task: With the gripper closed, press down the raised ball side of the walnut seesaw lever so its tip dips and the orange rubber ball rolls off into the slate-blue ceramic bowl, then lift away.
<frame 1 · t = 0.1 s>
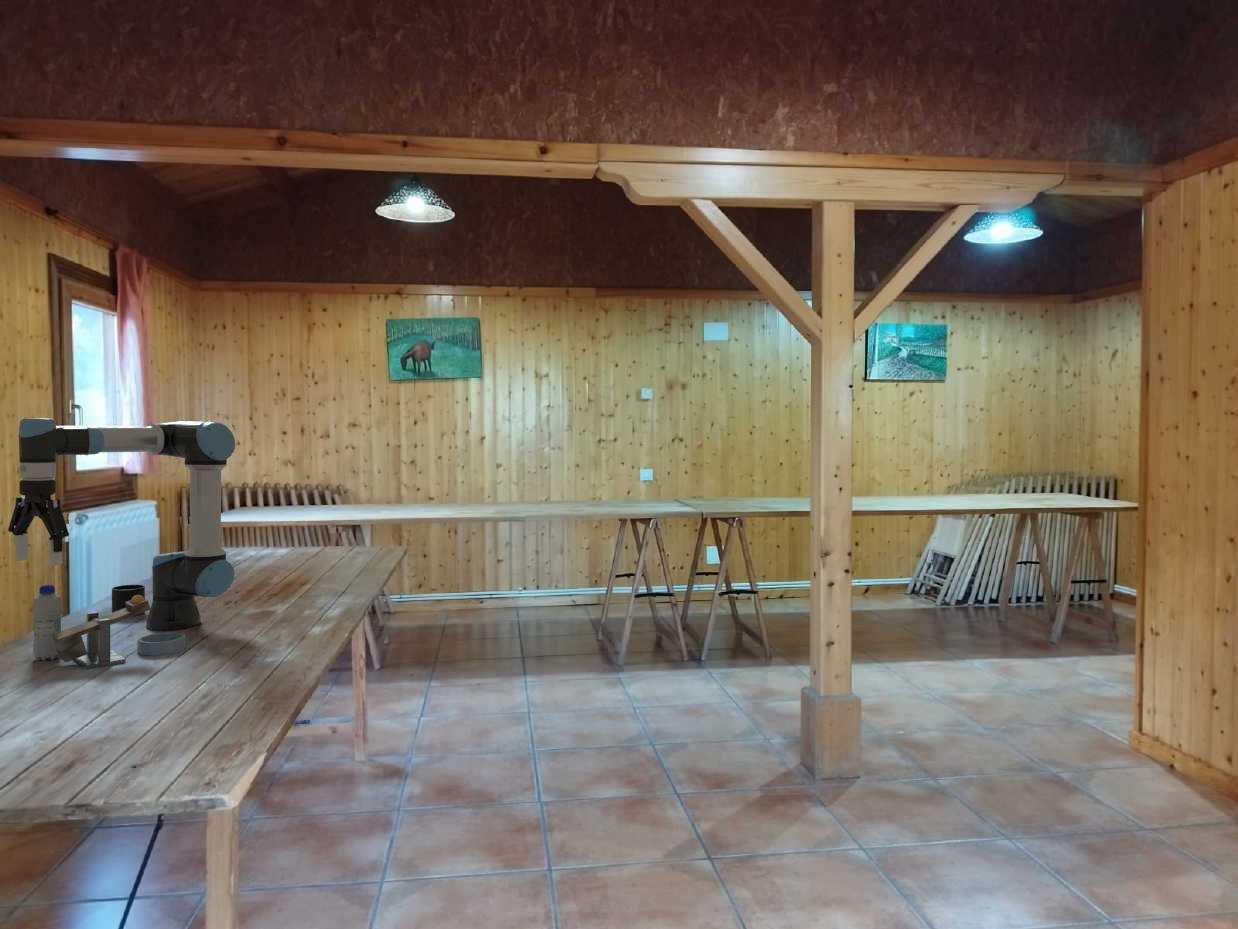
hand: (38, 562, 206), 28 cm above the table, fingers open, 13 cm apart
bottle: (47, 659, 218), on the table
mug: (129, 613, 271), on the table
bowl: (161, 649, 229), on the table
lever: (104, 628, 218), point 8 cm above the table, hinge at -15.0°, touching ball
ball: (137, 600, 224), point 15 cm above the table, tilted 21°, touching lever
fulcrum: (98, 660, 217), on the table
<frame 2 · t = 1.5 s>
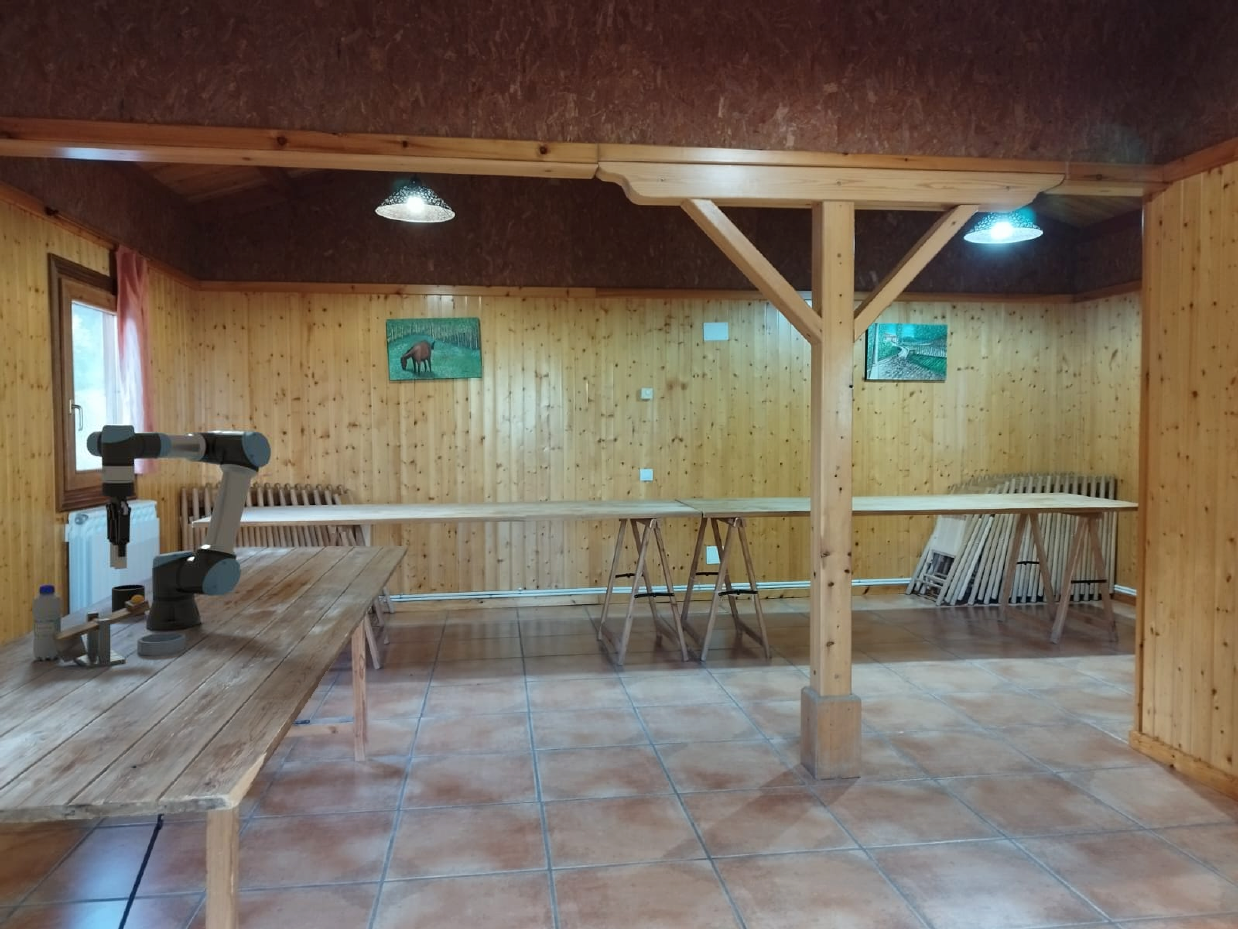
hand: (118, 567, 220), 25 cm above the table, fingers open, 3 cm apart
nothing on the table moved.
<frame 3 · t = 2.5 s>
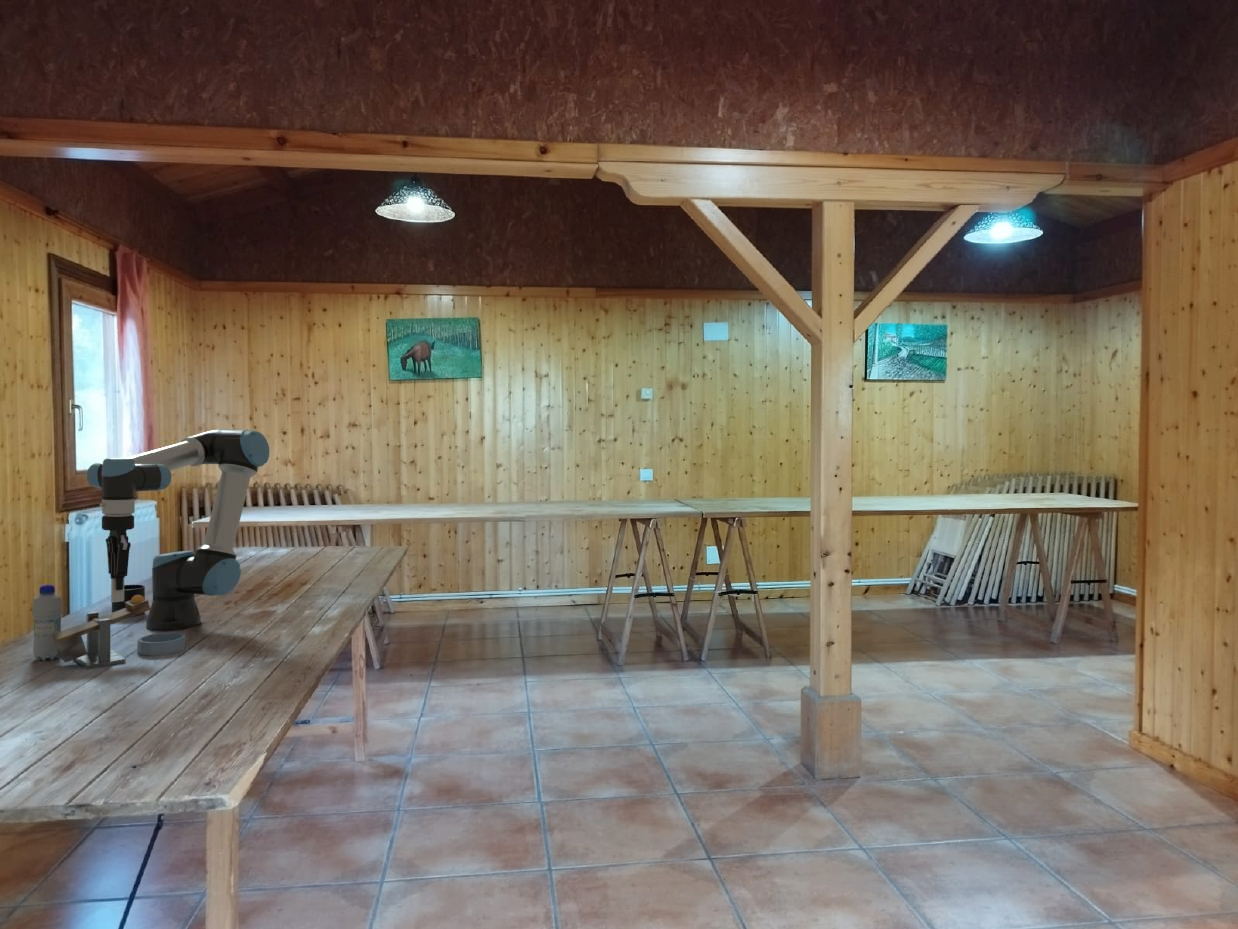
hand: (117, 601, 220), 15 cm above the table, fingers closed
nothing on the table moved.
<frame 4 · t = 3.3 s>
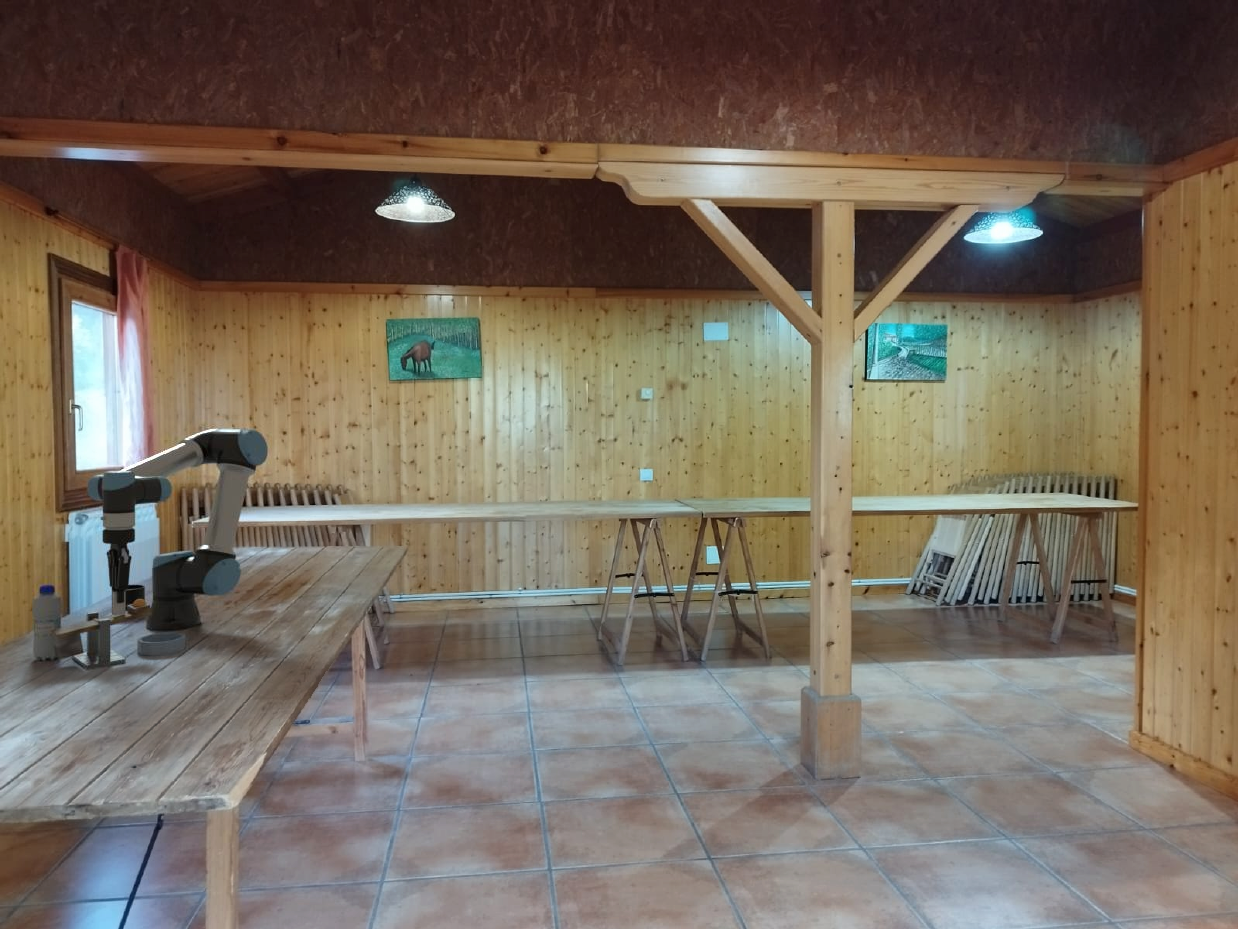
hand: (118, 614, 220), 12 cm above the table, fingers closed
lever: (103, 629, 218), point 8 cm above the table, hinge at -7.9°, touching ball, gripper
ball: (139, 604, 224), point 14 cm above the table, tilted 14°, touching lever
everything else where it was.
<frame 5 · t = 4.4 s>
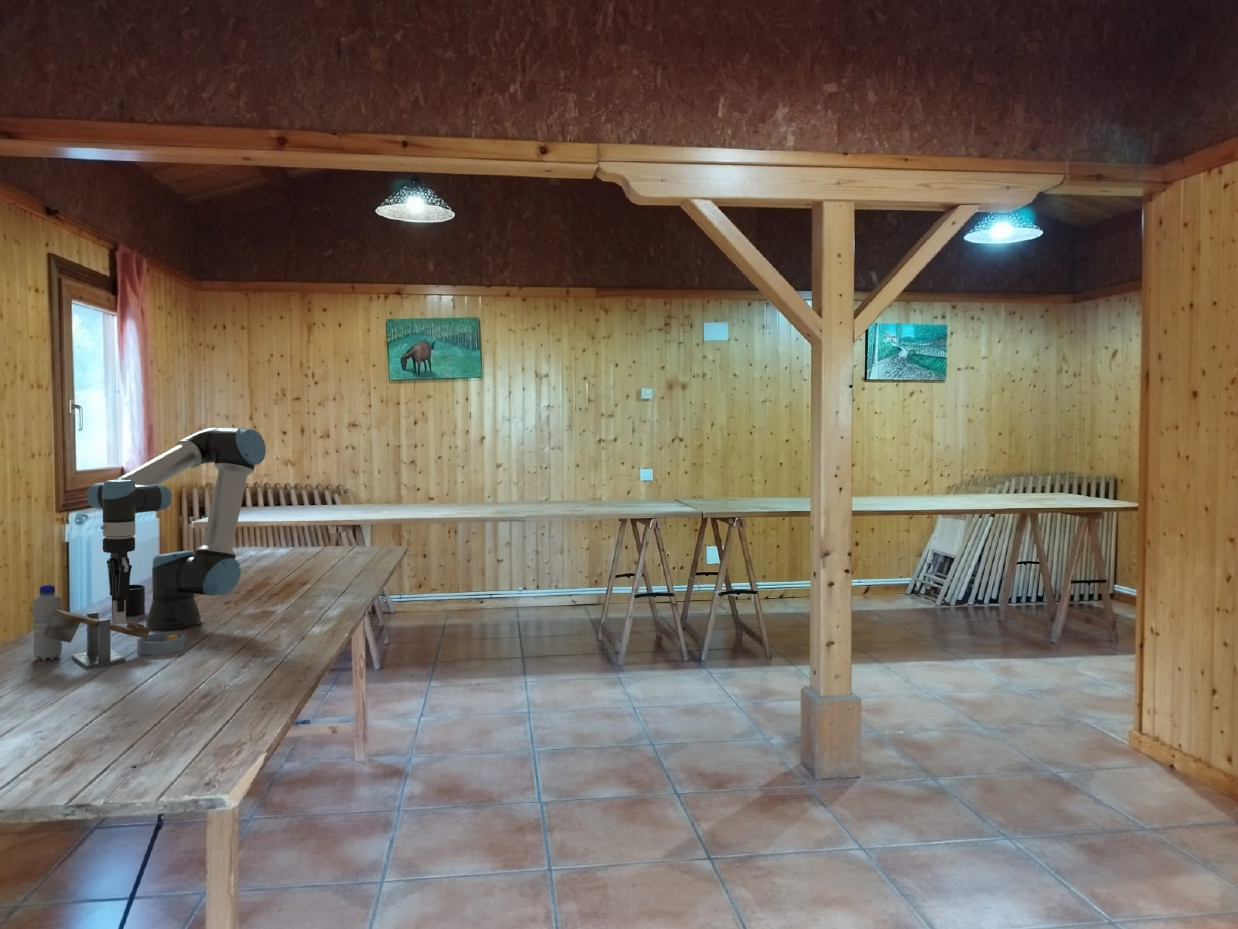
hand: (119, 623, 221), 9 cm above the table, fingers closed
lever: (98, 631, 217), point 8 cm above the table, hinge at 24.3°, touching gripper
ball: (172, 640, 231), point 2 cm above the table, tilted 27°, touching bowl
everything else where it was.
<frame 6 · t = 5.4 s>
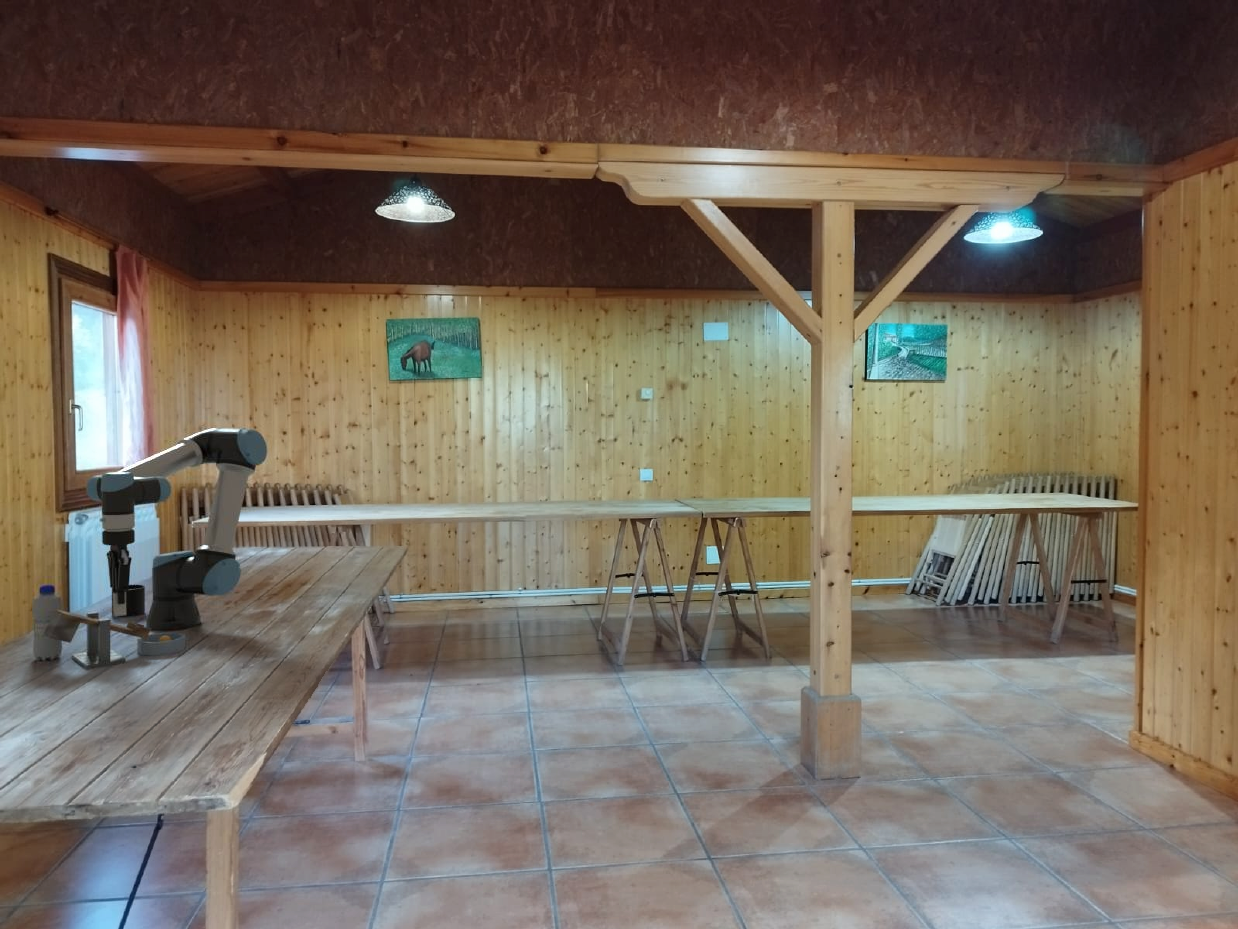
hand: (119, 615, 221), 11 cm above the table, fingers closed
lever: (98, 631, 217), point 8 cm above the table, hinge at 24.3°
ball: (164, 641, 229), point 2 cm above the table, tilted 99°, touching bowl
everything else where it was.
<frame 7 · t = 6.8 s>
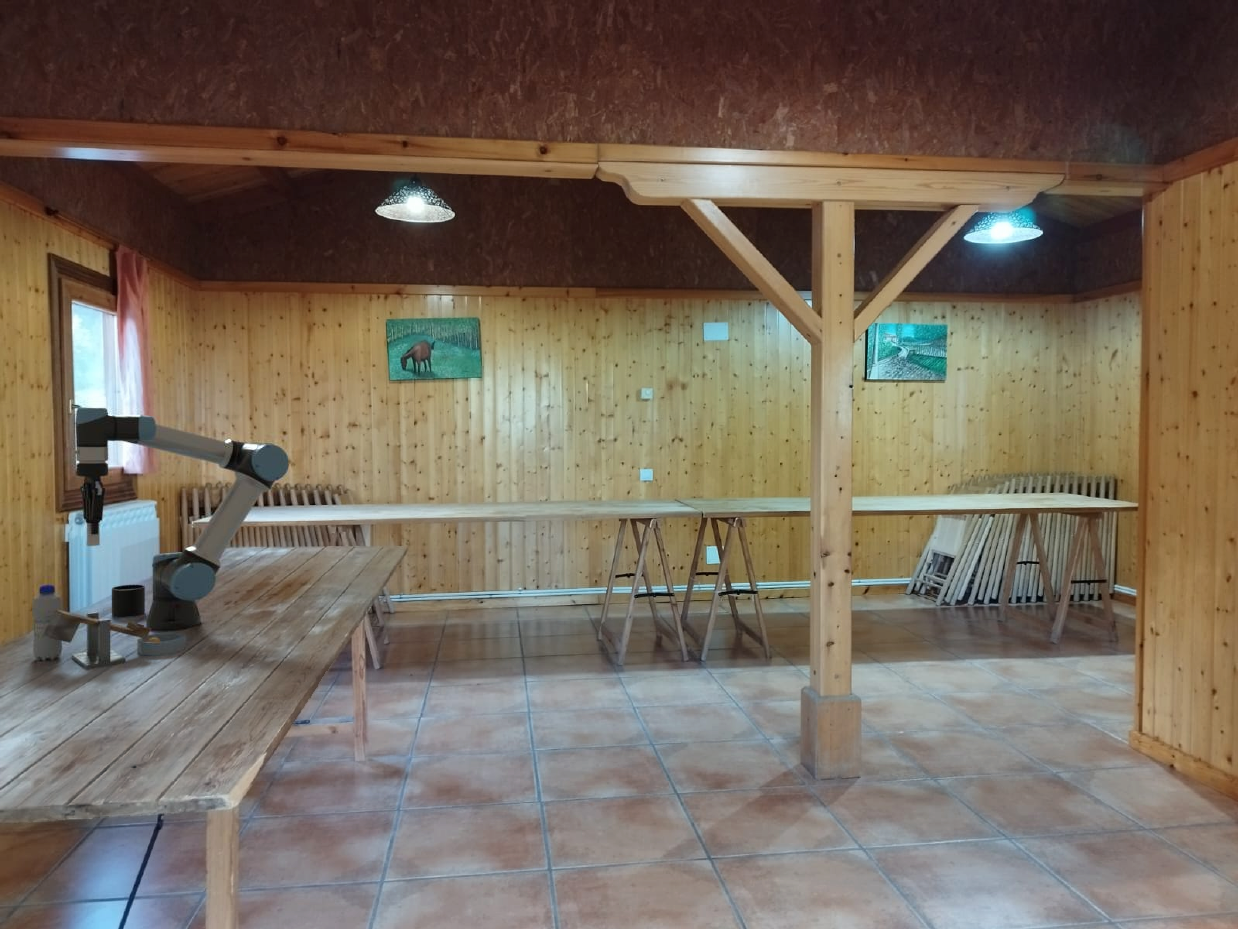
hand: (93, 545, 229), 29 cm above the table, fingers closed
ball: (154, 643, 227), point 2 cm above the table, tilted 160°, touching bowl
everything else where it was.
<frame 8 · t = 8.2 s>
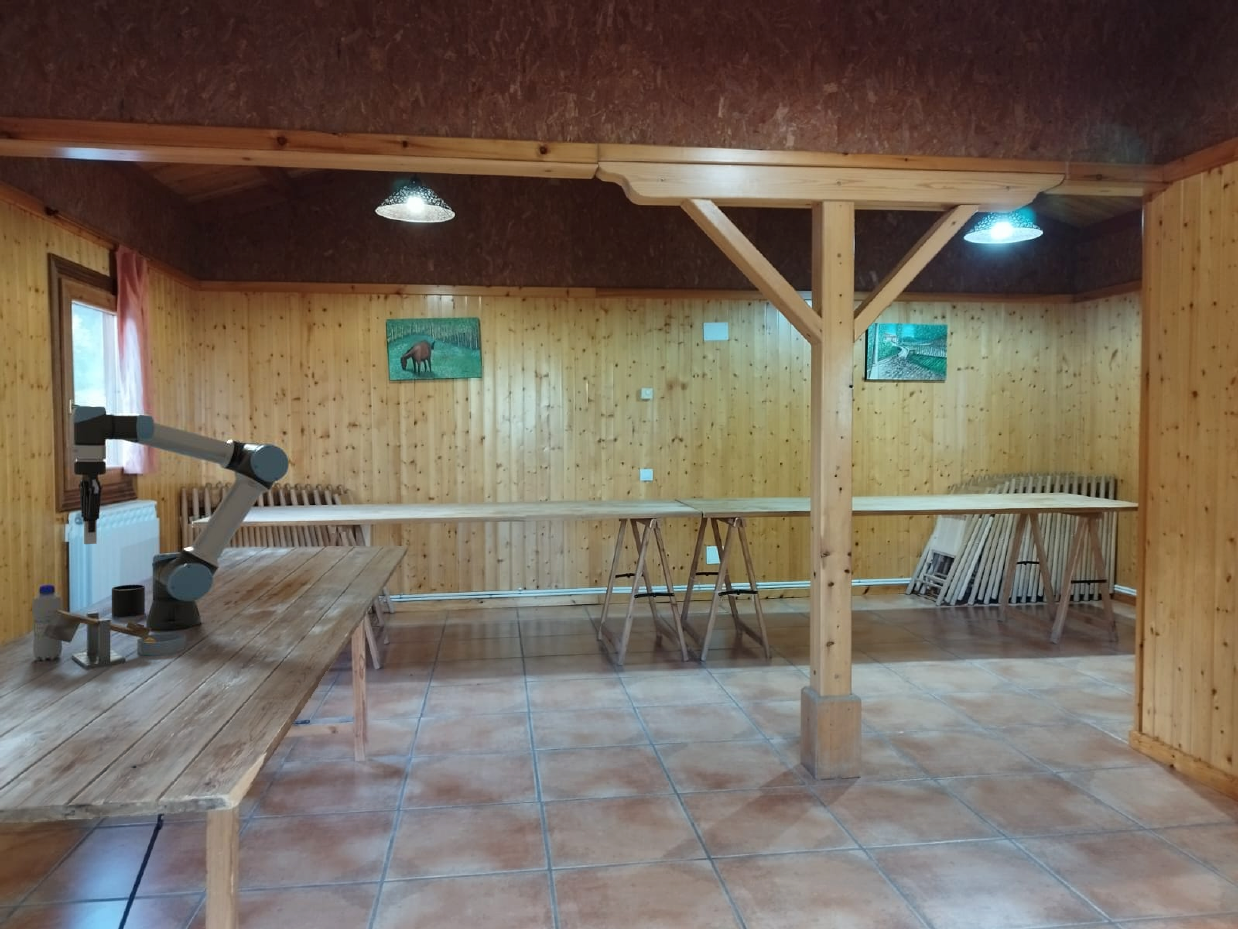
hand: (90, 543, 229), 29 cm above the table, fingers closed
ball: (149, 644, 226), point 2 cm above the table, tilted 119°, touching bowl
everything else where it was.
at the end: ball inside the target area on the bowl (3.1 cm from its centre), point 2.2 cm above the bowl's base; lever at +24° (first picture: -15°) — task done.
